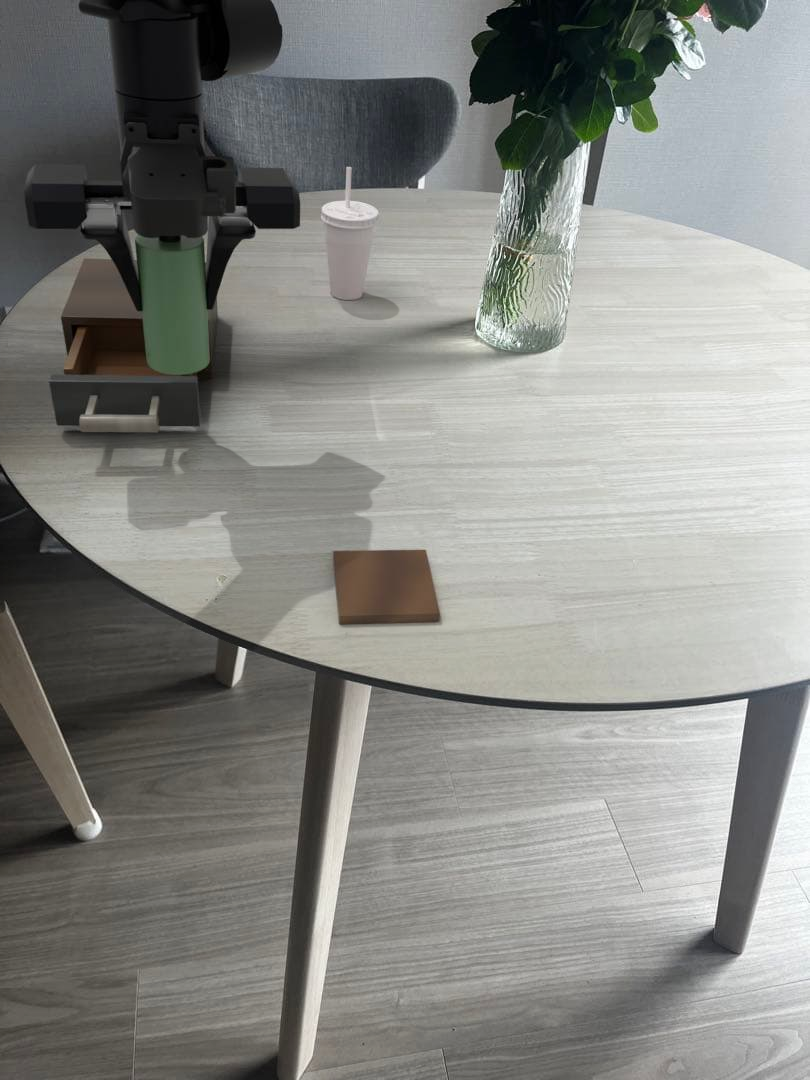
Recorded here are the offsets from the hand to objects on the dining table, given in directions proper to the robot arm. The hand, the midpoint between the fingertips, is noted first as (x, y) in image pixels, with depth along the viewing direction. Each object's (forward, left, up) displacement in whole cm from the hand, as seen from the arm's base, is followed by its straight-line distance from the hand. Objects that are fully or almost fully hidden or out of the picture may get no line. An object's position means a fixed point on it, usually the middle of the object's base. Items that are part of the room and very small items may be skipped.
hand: (174, 308), depth 70 cm
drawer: (-5, +5, -11) cm, 13 cm away
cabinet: (-5, +18, -12) cm, 22 cm away
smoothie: (+16, +32, -12) cm, 38 cm away
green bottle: (0, 0, -5) cm, 5 cm away
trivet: (+15, -20, -12) cm, 28 cm away
